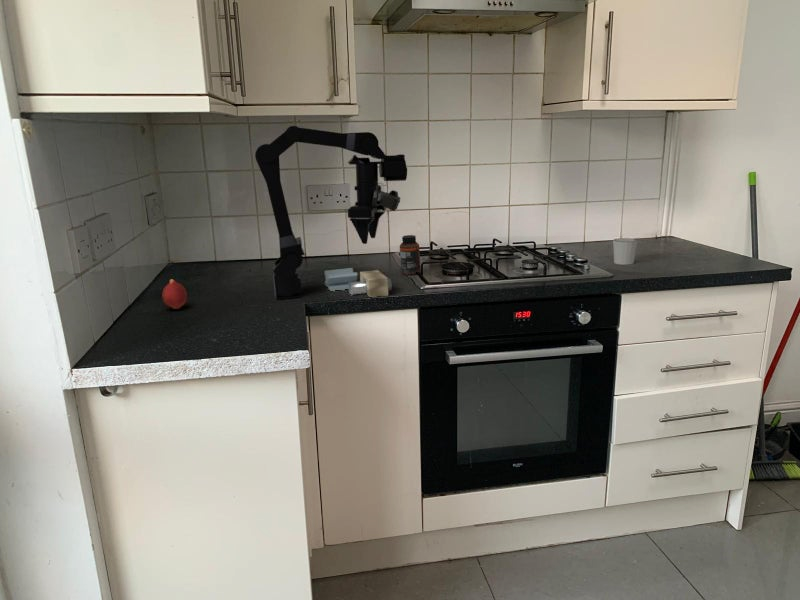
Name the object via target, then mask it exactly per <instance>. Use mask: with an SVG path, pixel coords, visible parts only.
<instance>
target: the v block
mask: <svg viewBox="0 0 800 600" xmlns="http://www.w3.org/2000/svg"><path fill="white" fill-rule="evenodd" d="M353 269H354V268H353V267H348V268H347V267H346V268H339V269H330V270H328V269H327V270H324V272H323V273H324V278H325V281H324V285H325V287H326V286H327V287H328V288H327V287H326V288H327V290H328V291H329V290H330V291H333V292H336V291H335V290H342V291H346V290H345V289H349V283H350V282H358V272H356V271H355V272H354V270H353ZM330 291H329V292H330Z"/></svg>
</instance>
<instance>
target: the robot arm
mask: <svg viewBox="0 0 800 600" xmlns="http://www.w3.org/2000/svg"><path fill="white" fill-rule="evenodd" d="M296 143H303V144H311V145H316V146H317V145H318V146H326V147H334V148H340V149H343V150H347V151H350V152H353V153H355V154H353V155H352V157H351V159H349V160H348V161H347V164H348V165H351V166H352V165H354V166H355V178H356V180H355V181H356V182H355V183H356V185H355V186H354V191H356V202H355V203H354V205H352V206H350V207H349V208H348V209H347V218H348V219H349V221H350V222H351V224H352V225H353V227H354V228H355V229H354V230H355V231H356V233H357V234H358V235H357V236H358V237H359V239H360V241H361V243H362V244H363V245H366V244H368V239H369V236H370V239H375V238H376V234H377V231H378V227H379V221H380V218H381V217H382V216H383V215H384V214H385V213H386V211H387V209H388V210H390V211H391V212H392V211H393V212H394V211H396V210H398V206H399V204H400V202H401V197H400V196H399V192H398V191H397V190H393V189H392V190H390V191H389V192H385V191H383V190H382V186H381V185H380V184H379V177H380V178H382V179H383V180H384V182H400V181H401V182H402V181H407V178H408V166H407V162H406V158H405V157H406V155H405V154H401V153H400V154H396V155H386V153H385V152H384V151H383V150H382V149H381V147H380V146H379V140H378V137H377V136H376V135H375V134H374V133H372V132H369V131H364V132H363V131H362V132H344V133H342V132H335V131H328V130H319V129H314V128H313V129H311V128H304V127H299V126H296V125H291V126H289V127H287V128H286V130H285V131H284V132H283V133H282V134H280V135H279V136H278V137H277V138H275V139H274V140H273V141H272V142H270V143H264V144H261V145H259V146H258V147H257V149H256V151H255V155H254V156H255V160H256V162H257V165H258V168H259V170H260V173H261V174H262V176H263V179H264V182H265V183H266V187H267V192H268V196H269V199H270V204H271V207H272V212H273V216H274V219H275V224H276V229H277V231H278V238H279V239H278V240H279V255H280V256H279V257H278V258H277V260H275V261H274V262H273V270H272V271H273V273H272V278H273V279H272V280H273V286H274V287H273V289H274V292H273V293H274V294H273V295H274V297H275V300H276V301H277V300H285V299H295V298H301V297H302V296H301V295H302V283H301V282H302V281H301V278H300V276H299V274H298V272H297V269H298V268H299V267H300V266H302V263H303V261H304V257H303V256H305V255H306V254H305V251H304V249H303V248H302V246H303V245H302V239H301V238H302V237H301V236H298V237H296V236H295V234H294V232H293V230H292V228H293V227H292V225H291V220H290V216H289V212H288V207H287V202H286V200H285V195H284V190H283V185H282V183H281V168H280V156H281V155H283V153H285V152H286V151H287V150H288V149H289V148H291V147H292V146H293V145H294V144H296ZM356 154H358V155H364V156H370V157H371V158H373V159H377V160H379V161H371V160H370V157H358V156H357V155H356Z"/></svg>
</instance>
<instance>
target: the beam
mask: <svg viewBox="0 0 800 600" xmlns="http://www.w3.org/2000/svg"><path fill="white" fill-rule="evenodd" d="M359 278H360V280H359V281H366V286H367V294H366V296H367V295H368V296H369V297H372V298H378V297H377V296H381V297H388V296H389V291H388V280H387V278H388V277H387V276H386V275H385V274H383V273H382V272H381V271H379V270H378V269H375V270H374V269H373V270H366V271H359ZM368 296H367V297H368ZM369 297H368V298H369Z"/></svg>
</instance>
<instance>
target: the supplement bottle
mask: <svg viewBox="0 0 800 600" xmlns="http://www.w3.org/2000/svg"><path fill="white" fill-rule="evenodd" d="M416 237H417V236H416V235H414V234H407V235H403V236H402V237H401V239H402V240H401V241H402V243H400V245H399V258H400V259H399V260H400V261H399V262H400V273H401V274H402V275H405V276H412V275H411V274H414V273H416V272H420V273H421V253H420V252H421V251H420V243H418V242H417V241H416V239H417V238H416Z"/></svg>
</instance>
